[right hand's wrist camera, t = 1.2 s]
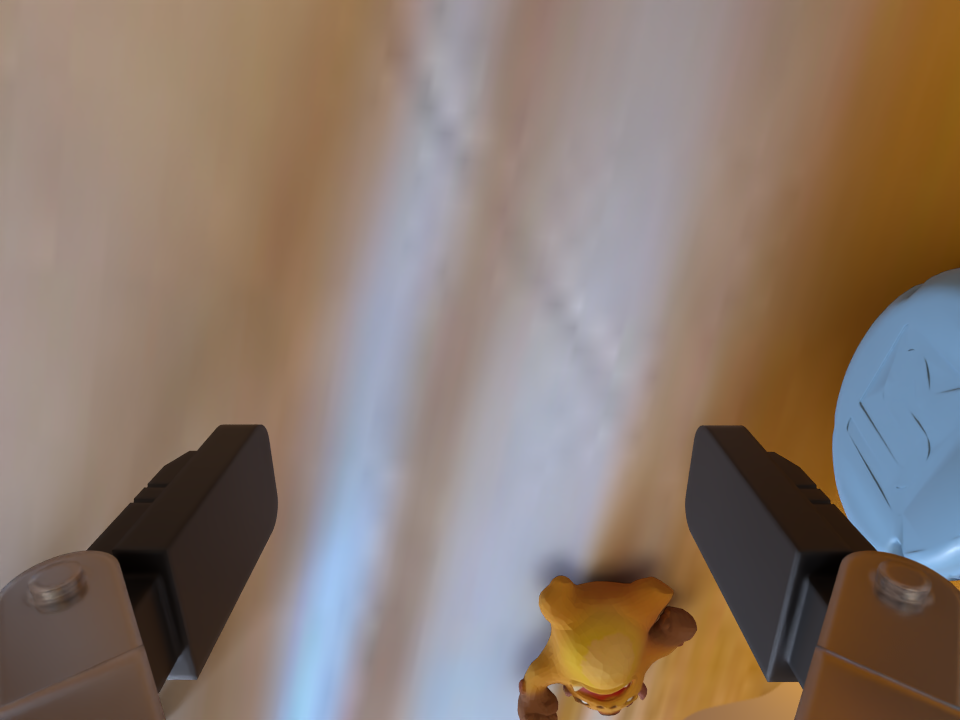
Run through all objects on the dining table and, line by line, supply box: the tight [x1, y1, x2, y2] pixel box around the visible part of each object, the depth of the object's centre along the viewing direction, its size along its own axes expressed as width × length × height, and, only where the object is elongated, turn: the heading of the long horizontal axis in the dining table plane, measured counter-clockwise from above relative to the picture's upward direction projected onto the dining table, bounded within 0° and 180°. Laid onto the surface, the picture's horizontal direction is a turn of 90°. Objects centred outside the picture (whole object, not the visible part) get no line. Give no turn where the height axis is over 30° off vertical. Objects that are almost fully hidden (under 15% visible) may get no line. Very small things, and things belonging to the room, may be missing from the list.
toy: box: [518, 576, 697, 720], centre depth 45 cm, size 11×6×15 cm
